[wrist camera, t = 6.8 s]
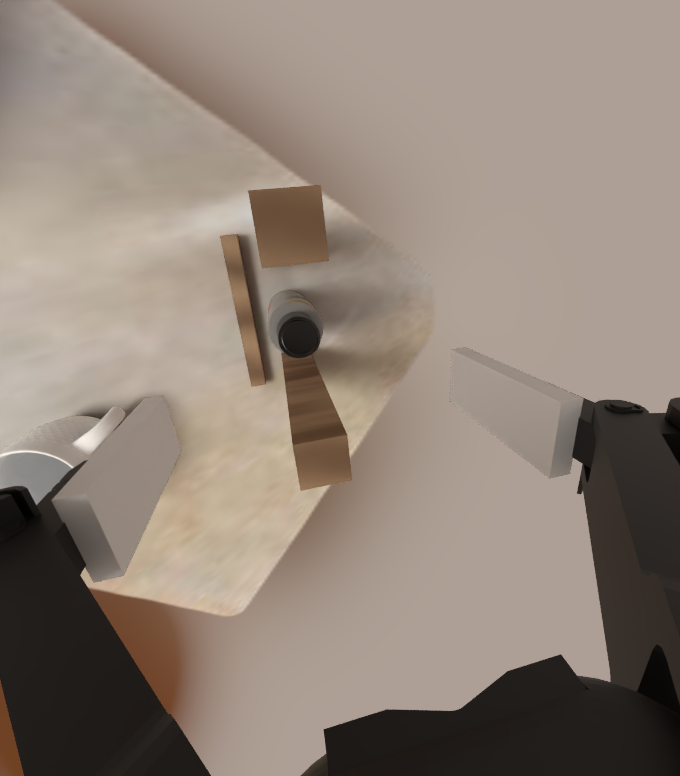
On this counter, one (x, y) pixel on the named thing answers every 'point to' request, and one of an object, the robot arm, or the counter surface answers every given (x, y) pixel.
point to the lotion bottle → (294, 324)
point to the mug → (54, 451)
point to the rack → (302, 379)
